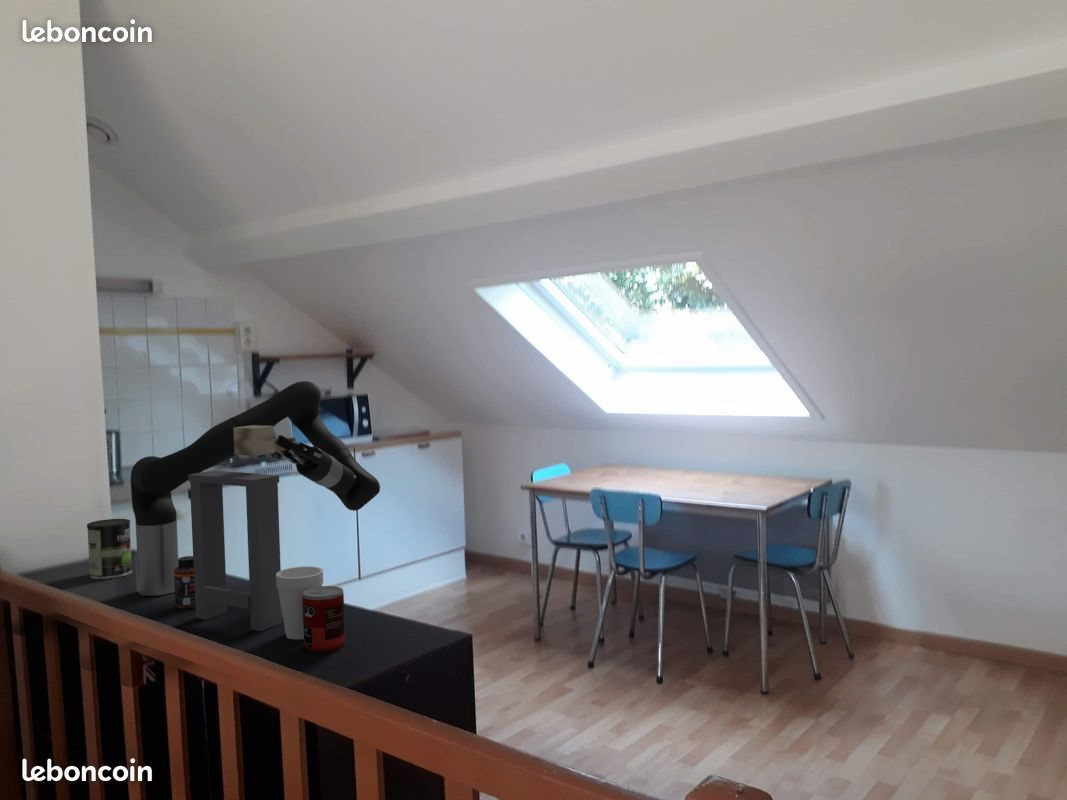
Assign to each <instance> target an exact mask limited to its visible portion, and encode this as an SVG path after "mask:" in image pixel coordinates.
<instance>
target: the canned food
mask: <svg viewBox="0 0 1067 800" xmlns="http://www.w3.org/2000/svg"><path fill="white" fill-rule="evenodd" d="M344 593H345V592H344V589H343V588H342V587H339V586H334V585H322V586H320V587H314V588H310V589H307V590H305V591H304V592H303V595H302V603H303V629H304V639H303V644H304V648H305V649H306V650H308V651H310V652H315V651H325V652H331V650H332V651H336V650H338V649H340V648H342V647H343V646H344V645H345V641H346V629H345V625H346V624H345V597H344V596H345V595H344Z"/></svg>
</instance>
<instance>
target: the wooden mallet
mask: <svg viewBox="0 0 1067 800" xmlns="http://www.w3.org/2000/svg"><path fill="white" fill-rule="evenodd" d="M233 429H234V454H235V455H236V456H246V457H247V456H248V457H249V456H251V457H257V456H264V455H269V454H273V453H275V452H276V451H283V450H286V449H284V448H282V447H281V446H279V445H277V443H276V442H277V439H274V437H275V426H259V425H253V426H244V427H235V428H233ZM285 437H286V436H285ZM286 438H287V439H289V440H290V441H295V442H296V437H289V436H287V437H286Z"/></svg>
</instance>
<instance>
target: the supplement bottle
mask: <svg viewBox="0 0 1067 800" xmlns="http://www.w3.org/2000/svg"><path fill="white" fill-rule="evenodd" d="M178 564H179V565H178V567H177V568H176V569H175V570H174V585H175V592H174V604H175V607H176V608H177V609H180V610H188V609H196V606H195V581H194V557H193V555H187V556H186V555H185V556H180V557H178Z"/></svg>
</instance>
